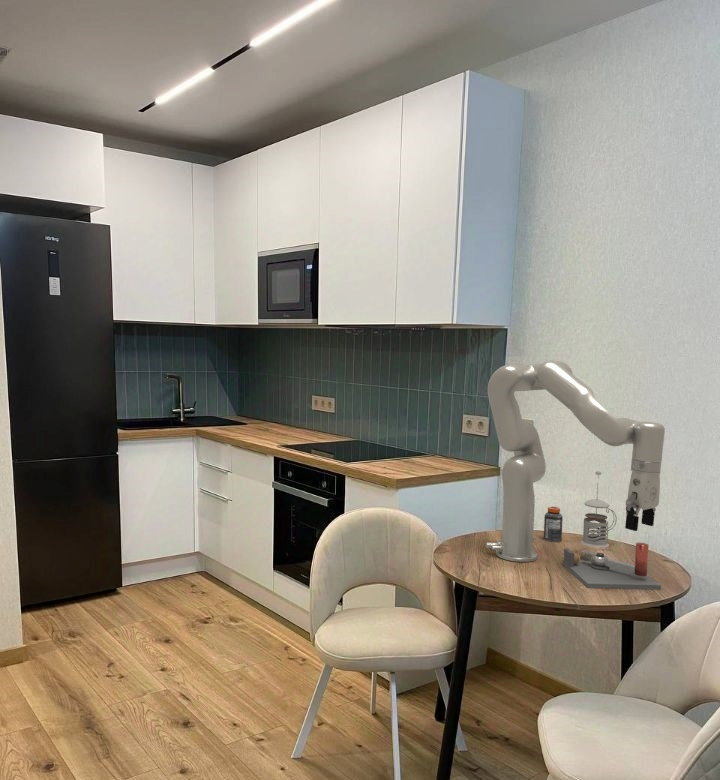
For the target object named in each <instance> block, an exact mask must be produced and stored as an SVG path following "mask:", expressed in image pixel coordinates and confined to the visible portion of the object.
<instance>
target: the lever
mask: <svg viewBox="0 0 720 780" xmlns="http://www.w3.org/2000/svg"><path fill="white" fill-rule="evenodd" d="M579 553H580V554H579V559H580V561H588V562H592V564H594V565H597V566H608V567H612V568H616V569H619V570H623V571H626V572H630V573H634V574H635V575H638V576H648V562H649V561H648V560H649V544H648V543H644V542H636V543H635V555H634V564H632V563H630V564H628V563H624V562H625V561H620V560H617V559H613V558H609V556H608V555H605V553H603V552H593V551H589V550H586V549H584V550H581V551H580V552H579Z"/></svg>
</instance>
